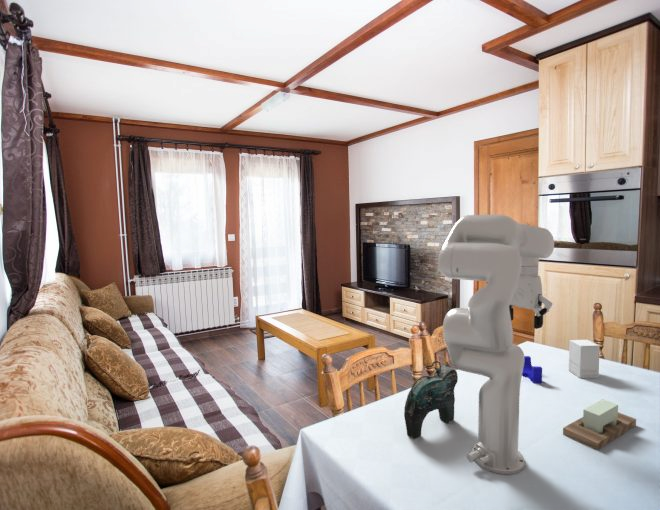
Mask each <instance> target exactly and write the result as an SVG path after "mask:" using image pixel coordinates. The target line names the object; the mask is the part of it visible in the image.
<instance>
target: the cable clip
mask: <svg viewBox="0 0 660 510" xmlns="http://www.w3.org/2000/svg"><path fill="white" fill-rule="evenodd" d="M524 357H525V361H524V367H523V372H522V377H527V378H528V379H529V380H530V381H531V383H533V384H542V383H543V367H542V366H536V365H534V366H532V359H531V358H532V357H531V356H530V355H524Z"/></svg>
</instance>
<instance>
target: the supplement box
mask: <svg viewBox="0 0 660 510" xmlns="http://www.w3.org/2000/svg"><path fill="white" fill-rule="evenodd" d="M568 344H569V348H568V349H569V350H568V372H570V373H571V374H573V375H575V376H576V377H578V378H579V379H591V378H592V379H593V378H594V379H595V378H597V379H598V378H599V370H600V347H601V346H600V345H599V344H597V343H596V342H593V341H591V340H589V339H573V340H572V339H571V340H570V339H569V343H568Z"/></svg>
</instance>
